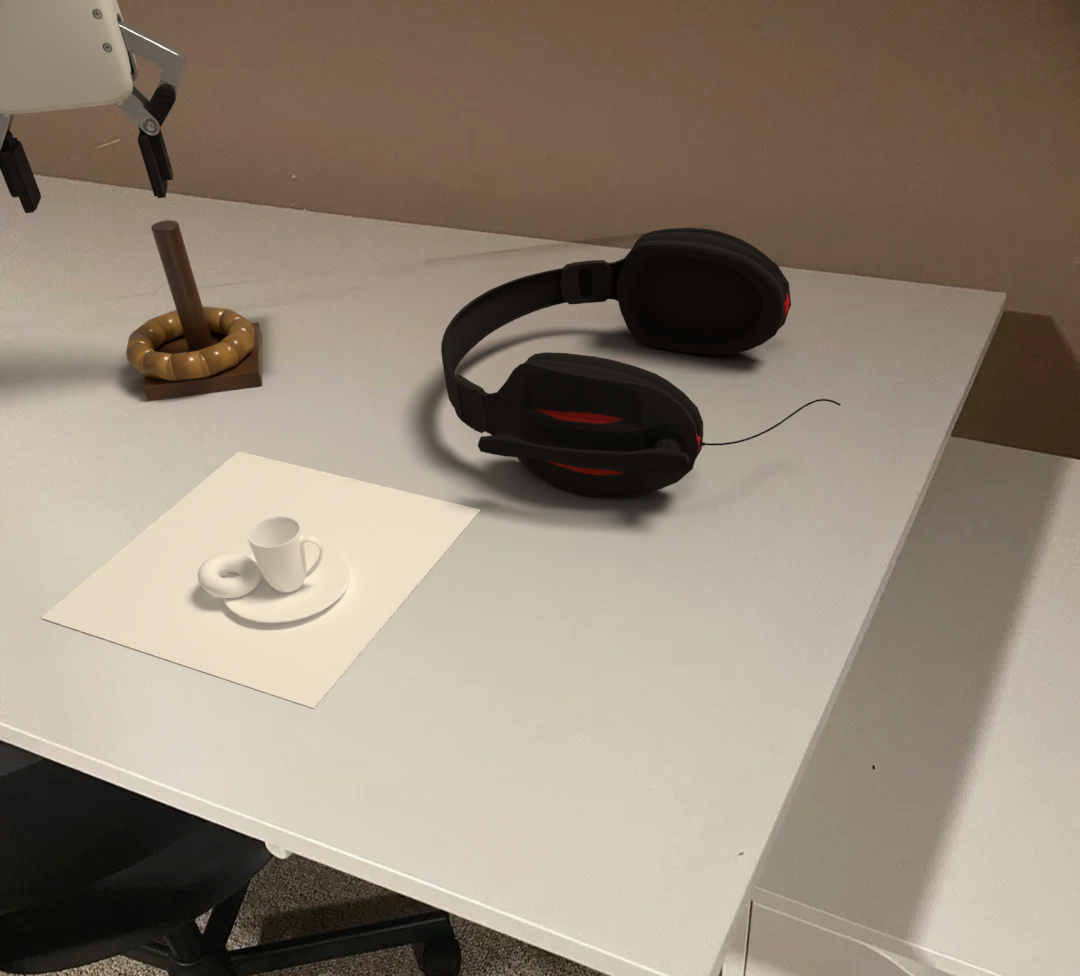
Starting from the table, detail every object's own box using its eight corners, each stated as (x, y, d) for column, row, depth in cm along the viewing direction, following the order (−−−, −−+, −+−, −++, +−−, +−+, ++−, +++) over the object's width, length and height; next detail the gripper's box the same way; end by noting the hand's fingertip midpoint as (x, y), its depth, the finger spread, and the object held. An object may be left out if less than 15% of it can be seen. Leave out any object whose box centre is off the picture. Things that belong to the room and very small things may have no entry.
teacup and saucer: (186, 606, 62) (165, 552, 59) (262, 533, 67) (247, 480, 64) (305, 642, 59) (290, 588, 56) (376, 564, 64) (365, 510, 61)
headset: (847, 515, 65) (874, 390, 59) (442, 537, 65) (426, 415, 59) (765, 320, 85) (779, 210, 78) (453, 337, 85) (441, 228, 78)
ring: (126, 392, 78) (117, 368, 77) (137, 334, 85) (129, 311, 84) (256, 375, 79) (249, 351, 78) (256, 319, 86) (251, 296, 85)
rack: (147, 401, 80) (95, 256, 71) (155, 349, 86) (108, 210, 78) (262, 385, 80) (224, 241, 72) (262, 335, 87) (227, 196, 78)
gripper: (146, -130, 64) (221, 168, 76) (-142, -106, 62) (-17, 194, 75) (136, -113, 59) (218, 203, 71) (-178, -86, 57) (-37, 232, 69)
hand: (98, 198), depth 73 cm, fingers open, 8 cm apart
